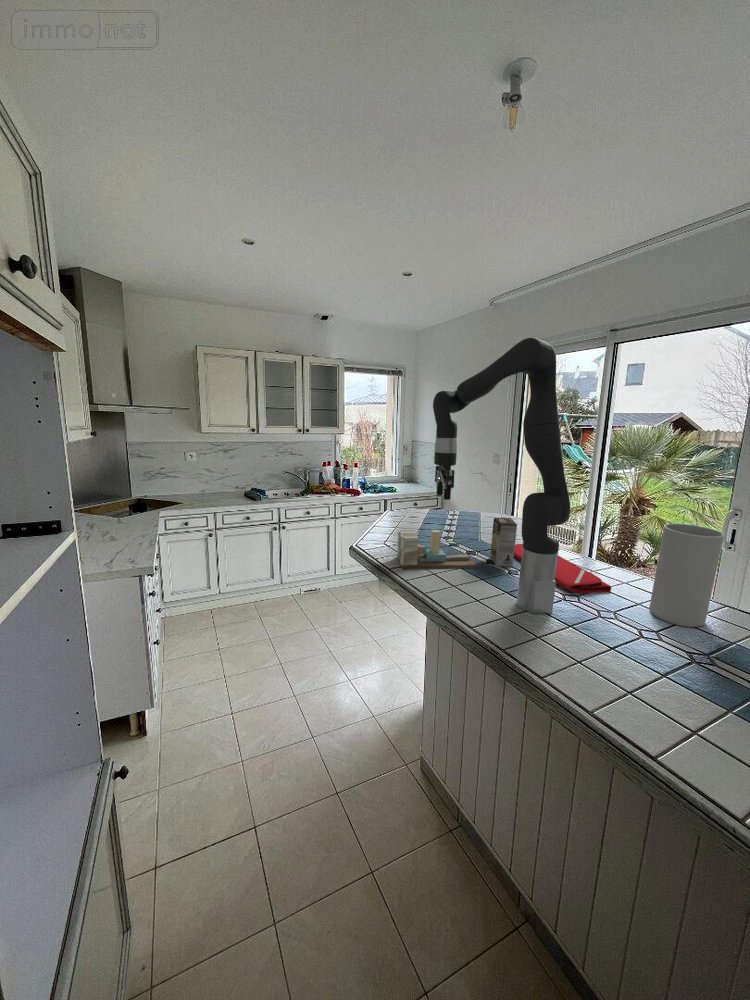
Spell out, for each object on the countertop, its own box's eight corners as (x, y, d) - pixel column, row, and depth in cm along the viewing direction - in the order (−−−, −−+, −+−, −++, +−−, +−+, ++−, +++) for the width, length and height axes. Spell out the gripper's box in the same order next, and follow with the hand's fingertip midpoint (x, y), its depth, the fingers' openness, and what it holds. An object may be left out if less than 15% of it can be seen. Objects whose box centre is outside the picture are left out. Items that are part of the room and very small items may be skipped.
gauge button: (420, 555, 144) (421, 546, 144) (404, 555, 144) (404, 547, 143) (418, 552, 148) (419, 544, 147) (402, 552, 147) (402, 544, 146)
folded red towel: (538, 550, 166) (539, 541, 165) (612, 593, 126) (614, 582, 125) (503, 551, 163) (503, 542, 162) (567, 595, 123) (569, 584, 123)
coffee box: (489, 557, 154) (493, 517, 151) (506, 557, 154) (510, 517, 151) (495, 566, 145) (499, 523, 142) (513, 566, 145) (518, 524, 142)
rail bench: (476, 567, 143) (479, 538, 141) (402, 569, 140) (403, 539, 138) (465, 555, 155) (467, 528, 153) (396, 557, 152) (397, 529, 149)
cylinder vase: (638, 609, 114) (653, 525, 109) (668, 603, 119) (683, 522, 114) (684, 631, 103) (703, 538, 98) (715, 624, 107) (735, 534, 102)
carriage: (445, 561, 145) (447, 533, 142) (421, 562, 144) (422, 533, 141) (441, 556, 150) (442, 528, 148) (417, 556, 149) (419, 528, 147)
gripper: (463, 452, 132) (460, 501, 135) (449, 449, 145) (447, 493, 149) (441, 452, 131) (438, 501, 134) (429, 449, 144) (427, 493, 148)
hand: (443, 497), depth 141 cm, fingers open, 8 cm apart
